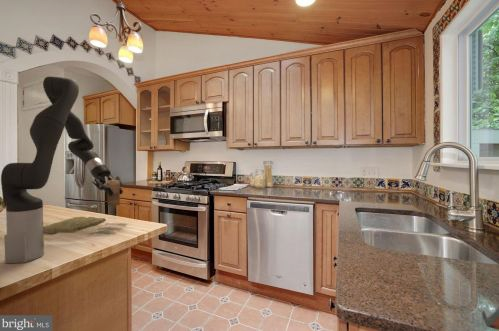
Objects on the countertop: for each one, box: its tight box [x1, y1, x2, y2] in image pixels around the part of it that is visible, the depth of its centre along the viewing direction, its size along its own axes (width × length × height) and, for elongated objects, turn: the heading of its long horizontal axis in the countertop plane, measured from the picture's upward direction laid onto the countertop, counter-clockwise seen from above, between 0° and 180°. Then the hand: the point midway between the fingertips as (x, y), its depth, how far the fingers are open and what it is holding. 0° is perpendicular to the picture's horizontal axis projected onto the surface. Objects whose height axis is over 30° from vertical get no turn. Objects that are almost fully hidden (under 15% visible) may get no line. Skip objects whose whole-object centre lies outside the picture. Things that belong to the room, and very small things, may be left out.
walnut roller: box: [107, 179, 121, 207], centre depth 115 cm, size 5×5×12 cm
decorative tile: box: [43, 216, 107, 235], centre depth 115 cm, size 19×20×4 cm
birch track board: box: [86, 222, 130, 237], centre depth 110 cm, size 19×11×1 cm, turn 8°
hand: (116, 194), depth 114 cm, fingers closed on walnut roller, 5 cm apart
